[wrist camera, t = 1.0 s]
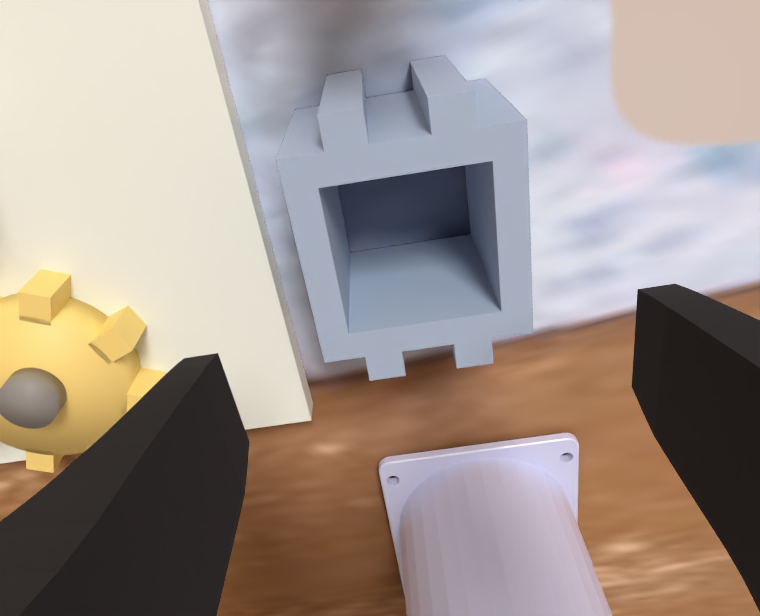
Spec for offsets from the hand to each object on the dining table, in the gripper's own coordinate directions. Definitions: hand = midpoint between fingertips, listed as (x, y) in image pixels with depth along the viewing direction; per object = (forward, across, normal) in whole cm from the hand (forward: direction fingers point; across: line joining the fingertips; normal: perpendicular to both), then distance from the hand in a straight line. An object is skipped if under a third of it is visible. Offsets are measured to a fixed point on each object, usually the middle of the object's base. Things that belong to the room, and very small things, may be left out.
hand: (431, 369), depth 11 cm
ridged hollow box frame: (+10, 0, 0) cm, 10 cm away
